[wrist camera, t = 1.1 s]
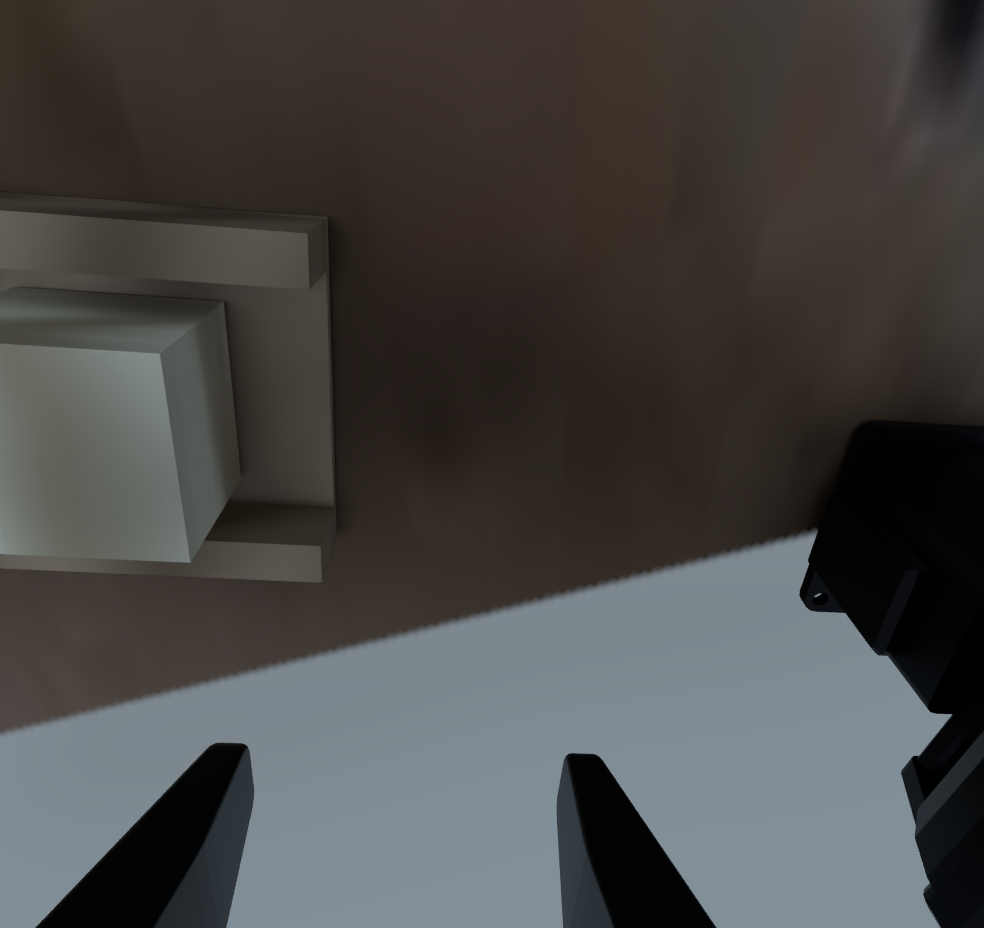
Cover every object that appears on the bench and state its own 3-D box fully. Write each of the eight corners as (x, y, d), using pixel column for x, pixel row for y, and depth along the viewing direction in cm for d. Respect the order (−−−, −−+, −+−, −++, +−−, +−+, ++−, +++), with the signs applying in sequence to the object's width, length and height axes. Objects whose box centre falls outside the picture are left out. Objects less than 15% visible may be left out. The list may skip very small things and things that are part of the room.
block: (223, 301, 17) (159, 354, 14) (241, 478, 20) (190, 562, 16) (13, 286, 17) (-108, 336, 13) (56, 468, 19) (-38, 552, 16)
